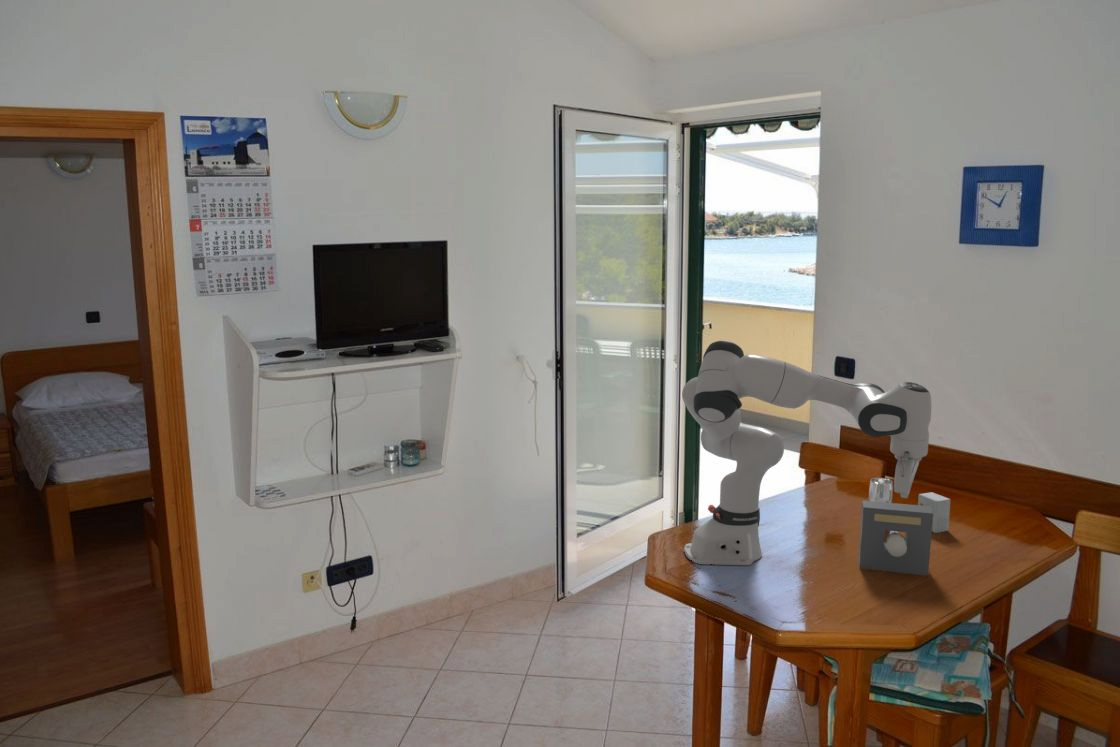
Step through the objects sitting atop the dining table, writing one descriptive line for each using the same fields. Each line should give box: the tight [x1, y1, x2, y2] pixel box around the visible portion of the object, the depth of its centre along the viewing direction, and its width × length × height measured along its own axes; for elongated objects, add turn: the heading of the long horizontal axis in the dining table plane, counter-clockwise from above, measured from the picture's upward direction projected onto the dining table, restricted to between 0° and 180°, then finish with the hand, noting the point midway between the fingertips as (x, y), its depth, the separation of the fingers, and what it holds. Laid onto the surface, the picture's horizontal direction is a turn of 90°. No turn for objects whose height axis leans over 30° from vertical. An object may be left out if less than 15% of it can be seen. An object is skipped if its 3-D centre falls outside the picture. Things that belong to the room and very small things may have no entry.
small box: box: [917, 491, 951, 534], centre depth 281 cm, size 8×6×10 cm
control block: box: [858, 500, 933, 577], centre depth 249 cm, size 6×18×18 cm, turn 74°
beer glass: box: [868, 477, 894, 503], centre depth 282 cm, size 7×7×15 cm
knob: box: [885, 531, 907, 557], centre depth 247 cm, size 11×5×5 cm, turn 164°
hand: (904, 495), depth 228 cm, fingers closed
